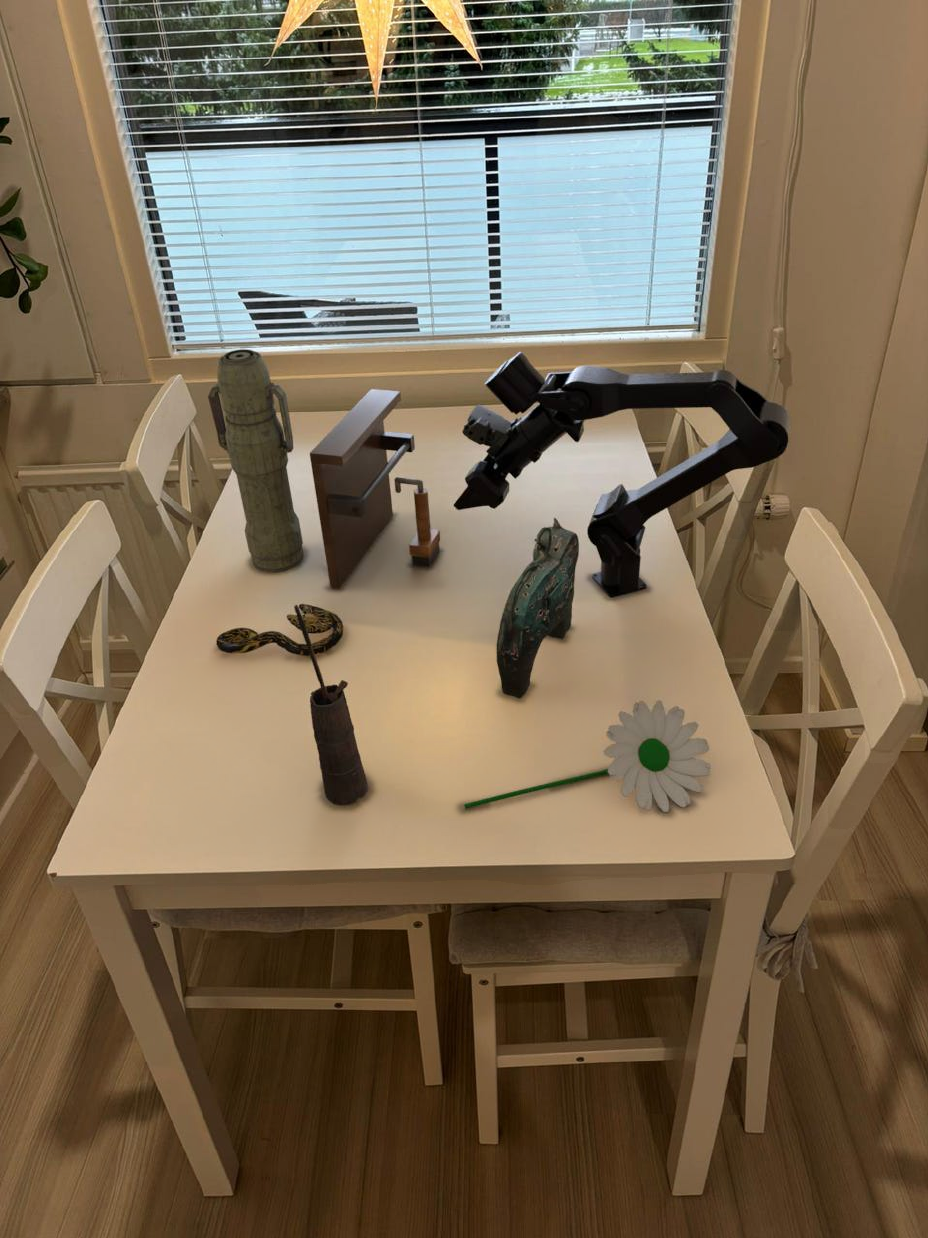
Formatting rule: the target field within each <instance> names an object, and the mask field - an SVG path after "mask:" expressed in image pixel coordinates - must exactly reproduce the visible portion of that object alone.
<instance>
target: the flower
mask: <svg viewBox="0 0 928 1238" xmlns="http://www.w3.org/2000/svg"><path fill="white" fill-rule="evenodd" d="M664 707H665V706H664V704H663V701H662V700H656V701H655V703H654V705H652V709H650V707H649V706H648V705H647V704H646V702H645V701H643V700H640V701H638V702H637V701H636V702H634V703H633V706H632V714H633V715H632V714H630V713H629V712H626V711H622V710H620V711H619V712H618V718H619V722H620V723H621V724H622V725H621V724H612V725H608V728H607V729H608V730H607V731H606V737H607V738H608V739H609V740H610V741H611V742H614V743H612V744H610V745H608V746H607V747H605V748H604V750H603V755H604V756H605V757H608V758H611V759H612V758H615V759H613V760H612V762H611V763H610V764H609V766H608V768H607V769H603V770H599V771H595V772H590V773H587V774H582V775H579V776H574V777H570V778H565V779H561V780H556V781H552V782H548V783H543V784H539V785H535V786H530V787H528V788H523V789H519V790H514V791H510V792H507V793H502V794H498V795H495V796H491V797H487V798H482V799H479V800H476V801H471V802H467V803H464V804H463V806H464V809H465V810H468V809H472V808H474V807H478V806H482V805H486V804H490V803H493V802H498V801H501V800H505V799H509V798H513V797H514V798H515V797H517V796H522V795H525V794H530V793H535V792H539V791H542V790H546V789H551V788H556V787H559V786H564V785H568V784H572V783H577V782H580V781H585V780H589V779H593V778H597V777H601V776H605V775H609V778H610V780H611V781H612V782H614V781H619V780H620V779H622V778H623V779H622V783H621V789H620V791H621V795H622V796H623V797H625V798H626V797H627V798H628V797H629V796H630V795H631V794H632V793H633V791H634V790H635V792H634V793H635V800H636V803H637V806H638V807H639V808H643V809H644V810H647V811H649V810H650V809H651V807H652V804H653V799H654V801H655V802H656V805H657V806H658V807H659V809H660V810H661V811H662V812H663V813H668V812H669V811H670V802H669V799H670V800H671V801H672V802H674V803H675V805H676V806H678V807H680V808H682V809H684V808H686V807H687V806H689V805H691V804H692V801H691V797H690V796H689V793H688V792H687V791H686V789H688V790H690V791H691V792H695V793H703V791H704V787H703V785H702V783H700V781H699V780H697V779H695V777H708V776H710V774H711V768H712V767H711V766H712V765H711V764H710V763H709V762H707V761H706V760H704V759H701V758H697V757H698V756H701V755H703V754H706V753H707V752H709V751H710V745H709V743H708V740H707V739H706V738H701V737H693V736H694V734H695V733H696V732H697V730H698V729H699V723H698V722H697V721H692V722H687V723H685V724H683V723H684V718H685V710H684V709H683V708H680V707H679V706H677V705H675V706H673V707H672V708H670V709H669V710H668V711H667V713H666V711H665V708H664ZM692 737H693V738H692ZM693 776H695V777H693ZM684 788H685V789H684ZM668 797H669V798H668Z"/></svg>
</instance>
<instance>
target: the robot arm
mask: <svg viewBox="0 0 928 1238" xmlns="http://www.w3.org/2000/svg"><path fill="white" fill-rule="evenodd" d="M484 385H485V387H486V388H487V389H488V390H489V391H490V392H491V393H492V394H493V395H494V396H495V397H496V398H497V400H499V402H501V403H502V404H503V406H504V407H505V408H506V409H507V410H508V411H509V412H510V413H511V414H515V415H516V416H517V415H518V414H519V413H521V414H525V413H526V412H527V411H528V410H529V409H530V408H531V410H530V411H529V412H527V414H525V415H524V416H523V417H521V416H520V417H519V418H518V417H515V418H514V419H513V420H509V419H506V418H504V417H503V415H500V414H499V413H497V412H495V411H493V410H491V409H489V408H487V407H485V406H484V405H480V404H477V405H475V407H474V408H473V409H472V411H471V412H470V413H469V416H468V418H467V420H466V422H465V424H464V426H463V429H462V434H463V435H464V436H465V437H466V438H467V439H468V440H470V441H472V442H474V443H476V444H477V445H480V446H482V445H484V446H486V447H488V448H487V449H486V450H485V452H486V453H487V455H486V456H485V457H484V458H483V460H479V461H478V462H477V463H475V464H474V465H473V466H472V468H471V469H469V471H468V473H467V474H466V476H465V477H464V480H465V483H466V485H467V486H466V488H465V489H464V490H463V491H462V493H461V494H460V495H459V497H458V498H457V499H456V500H455V502H454V503H453V508H455V509H456V510H457V511H461V510H468V509H472V508H480V507H490V509H494V510H495V509H497V508H498V507H499V506H500V505H502V504H503V503H504V502H505V500H506V499H507V496H508V494H509V492H510V482H509V481H508V480H507V477H508V475H510V476H512V478H514V479H517V478H519V477H520V476H521V474H522V471H523V470H524V469H525V468H526V467H527V466H529V465H530V464H531V463H533V464H535V463H537V462H538V461H539V460H540V458H541V457H542V455H543V453H545V451H547V450H548V449H549V448H550V447H552V446H553V445H554V444H555V443H556V442H557V441H559V440H560V439H562V437H564V436H565V435H566V434H567V435H568V436H569V437H570V438H571V439H572V441H574V442H575V443H579V442H580V441H581V438H582V436H583V434H584V432H585V428H584V427H585V426H584V425H585V424H584V423H585V421H588V420H593V419H594V420H595V419H597V418H598V419H600V418H604V417H606V416H609V415H612V414H614V413H617V412H620V411H624V410H642V409H643V410H644V409H646V410H647V409H648V410H649V409H652V410H653V409H694V408H695V409H697V408H699V409H700V408H710V409H712V410H713V411H714V412H715V413H717V415H718V416H719V417H720V418H721V420H722V421H723V422H724V423H725V426H727V428H728V430H727V431H726V433H724V435H723V436H722V437H721V438H720V439H719V440H717V441H716V442H714V443H712V444H710V445H709V446H707V447H706V448H704V449H702V450H701V451H699V452H697V453H696V454H694V455H693V456H690V457H689V458H688V459H686V460H684V461H682V462H681V463H680V464H677V465H676V466H673V468H671V469H669V470H668V471H666V472H664V473H663V474H660V475H659V476H657V477H656V478H654V479H652V480H651V481H649V482H648V483H646V484H645V485H643V486H642V487H639V488H638V489H637V488H636V489H630V490H626V488H625V486H624V484H623V483H620V484H619V485H617V486H616V487H615V488H614V489H613V490H611V491H609V492H608V493H603V494H601V495H600V497H599V500H598V502H597V504H596V506H595V508H594V511H593V513H592V516H591V518H590V521H589V523H588V527H587V531H586V534H587V537H588V540H589V542H590V543H591V544H592V545H593V546H594V547H595V548H596V550H597V553H598V556H599V559H600V572H597V573H593V574H592V575H591V578H592V579H593V580H594V582H595V583H596V584H597V585H598V587H599V588H600V589H601V590H602V591H603V592H604V593H605V594H606V596H608V597H609V598H611V599H613V598H614V599H615V598H617V597H622V596H625V595H628V594H633V593H636V592H640V591H644V590H647V588H648V584H647V583H646V582H645V581H644V580H643V579H642V578H641V577H640V572H641V559H642V556H641V545H642V541H643V539H644V534H645V531H646V526H645V523H647V521H649V519H651V518H652V517H654V516H655V515H657V514H660V513H661V512H663V511H665V510H666V509H668V508H670V507H671V506H673V505H675V504H676V503H678V502H680V501H682V500H683V499H686V498H687V497H689V496H690V495H693V494H694V493H696V492H698V491H699V490H701V489H702V488H704V487H706V486H708V485H710V484H712V483H713V482H714V481H716V480H718V479H720V478H721V477H723V476H725V475H727V474H728V473H730V472H733V471H736V470H744V469H752V468H755V467H758V466H761V465H763V464H766V463H768V462H771V461H773V460H776V459H778V458H779V457H781V456H782V455H783V454H784V453H785V452H786V450H787V447H788V444H789V441H790V440H789V438H790V426H791V425H790V424H791V422H790V415H789V412H788V411H787V410H786V408H785V407H783V406H782V405H781V404H778V403H776V402H771V401H770V400H768V399H767V398H766V397H764V395H762V394H761V393H760V392H759V391H758V390H757V389H755V388H753V387H752V386H750V385H748V384H746V383H744V382H743V381H741V380H740V379H739V378H738V377H737V376H736V375H735V374H733V373H732V372H730V371H729V370H728V369H727V370H726V369H718V370H715V371H701V372H671V373H669V372H668V373H667V372H666V373H640V374H636V373H635V374H629V373H622V372H620V371H616V370H614V369H611V368H608V367H602V366H595V365H579V366H577V367H575V368H574V369H573V370H572V371H561V372H560V371H559V372H549V373H548V374H547V376H546V377H544V376H543V375H542V374H541V373H540V372H539V371H538V370H537V369H536V368H535V367H534V365H533V364H532V363H531V362H530V361H529V359H528V357H527V356H526V355H525V354H524V353H523V352H522V351H519V352H518V353H517V354H515V355H514V356H512V357H511V358H510V359H509V360H505V361H504V362H503V363H502V364H501V365H500V366H499V367H498V368H497V369H496V370H495V371H494V372H493V374H491V375H490V376H489V378H488V379H487V380H486V381H485V382H484ZM559 389H560V390H559ZM535 403H538V404H536V406H535V407H533V408H532V406H534V404H535Z"/></svg>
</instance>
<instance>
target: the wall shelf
mask: <svg viewBox="0 0 928 1238" xmlns="http://www.w3.org/2000/svg"><path fill="white" fill-rule="evenodd" d="M401 401H402V395H401V391H400V390H389V389H378V388H377V389H375V388H371V389H370V390H369V391H368V392H367V393H366V394H365V395H363V397H362V398H361V399H360V400H359V401H358V402H357V403H356V404H355V405H354V406H353V407H352V409H351V410H350V411H349V412H348V413H347V414H346V415H345V416H343V418H341V420H340V421H339V422H338V423H337V424H336V425H335V426H334V427H333V428H332V429H331V430H330V431H329V432H328V433H327V435H325V436H324V437H323V439H321V440H320V442H319V443H318V444H316V446H315V447H314V448H313V449H312V450H311V451H310V452H309V458H310V465H311V472H312V479H313V484H314V491H315V498H316V504H317V510H318V516H319V517H318V518H319V523H320V530H321V537H322V541H323V548H324V555H325V561H326V569H327V575H328V581H329V587H330V589H333V590H340V589H341V588H342V587H343V585H344V584H345V583H346V581H347V580H348V579H349V577H350V576H351V574H352V573H353V571H354V570H355V569H356V567H357V566H358V565H359V563H360V562H361V560H362V559H363V558H364V557H365V555H366V553H367V552H368V551H369V549H370V548H371V547H372V545H373V544H374V542H375V541H376V539H377V538H378V537H379V535H380V534H381V533H382V531H384V529H385V527H386V526H387V525H388V523H389V522H390V520H391V519H392V518H393V517H394V511H393V510H394V509H393V501H392V491H391V483H390V482H391V481H390V473H391V472H392V470H394V468H395V467H396V465H397V464H398V463H399V462H400V460H401V459H402V457H403V456H404V455H405V454H406V453H413V451H414V450H415V449H416V446H415V434H414V433H403V432H394V431H391V432H390V431H385V423H384V421H385V420H386V419H387V417H388V416H389V415H390V414H391V413H392V412H393V410H394V409H395V408H396V407H397V406H398V405H399V403H400V402H401ZM387 451H392V452H395V453H394V454H393V455H392V457H391V458H390V459H389V460H388V454H387Z"/></svg>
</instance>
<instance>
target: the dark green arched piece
mask: <svg viewBox="0 0 928 1238" xmlns="http://www.w3.org/2000/svg"><path fill="white" fill-rule="evenodd" d="M534 541H535V542H536V543H535V545H534V548H533V552H532V559H533V560H532V561H531V562H530V563H529V564H528V565H527V566H526V567H525V569H524V570H523V572H522V573H521V575H520V576H519V577H518V579H517V581H516V582H515V583H514V585H513V586H512V589H511V590H510V592H509V594H508V597H507V599H506V602H505V604H504V608H503V611H502V615H501V619H500V622H499V628H498V633H497V638H496V665H497V669H498V673H499V674H498V675H499V678H500V684H501V685H500V686H501V692H502V694H504V695H506V696H510V697H514V698H517V699H518V700H519V699H522V698H523V697H524V696H525V695H526V693H527V691H528V690H529V688H530V686H531V676H532V671H533V668H534V664H535V660H536V658H537V656H538V653H539V652H538V651H539V649H540V647H541V646H542V643H543V641H544V640H545V638H546V637H550V638H554V639H557V640H562V641H563V640H564V638H566V634H567V633H568V632H569V631H570V629H571V626H572V618H573V603H574V602H573V601H574V597H575V579H576V568H577V563H578V560H579V554H580V543H579V542H580V541H579V536H578V534H577V533H576V532H573V531H571V530H568V529H566V528H564V527H562V526H561V524H560V522H559V520H558V519H557V518H556V517H553V525H552V526H545V527H541V529H540V530H539V531H538V533H537V535H536V538H534Z"/></svg>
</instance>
